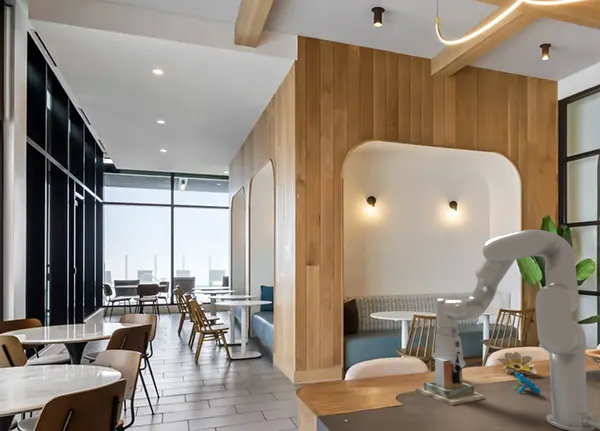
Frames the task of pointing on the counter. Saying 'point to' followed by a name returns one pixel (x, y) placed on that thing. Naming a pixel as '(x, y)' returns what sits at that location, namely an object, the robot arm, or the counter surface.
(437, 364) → the small box
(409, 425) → the counter surface
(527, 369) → the decorative flower
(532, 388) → the gear
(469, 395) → the jig
